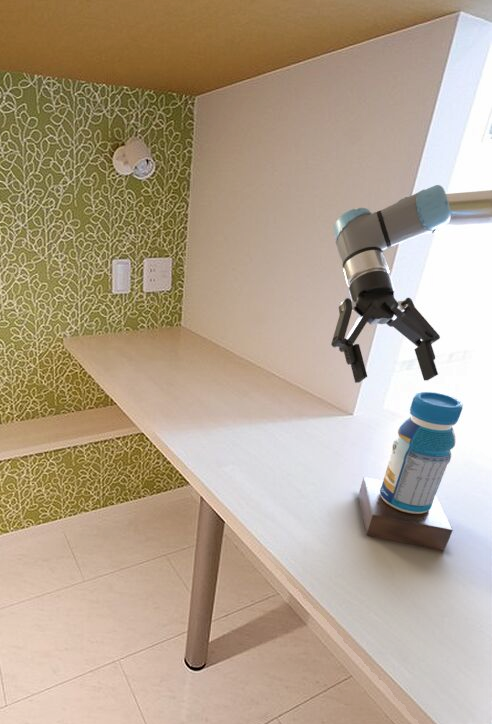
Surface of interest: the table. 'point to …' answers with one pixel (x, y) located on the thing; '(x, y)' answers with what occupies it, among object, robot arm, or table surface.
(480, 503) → the table surface
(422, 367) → the robot arm
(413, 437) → the beverage bottle
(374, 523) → the riser
